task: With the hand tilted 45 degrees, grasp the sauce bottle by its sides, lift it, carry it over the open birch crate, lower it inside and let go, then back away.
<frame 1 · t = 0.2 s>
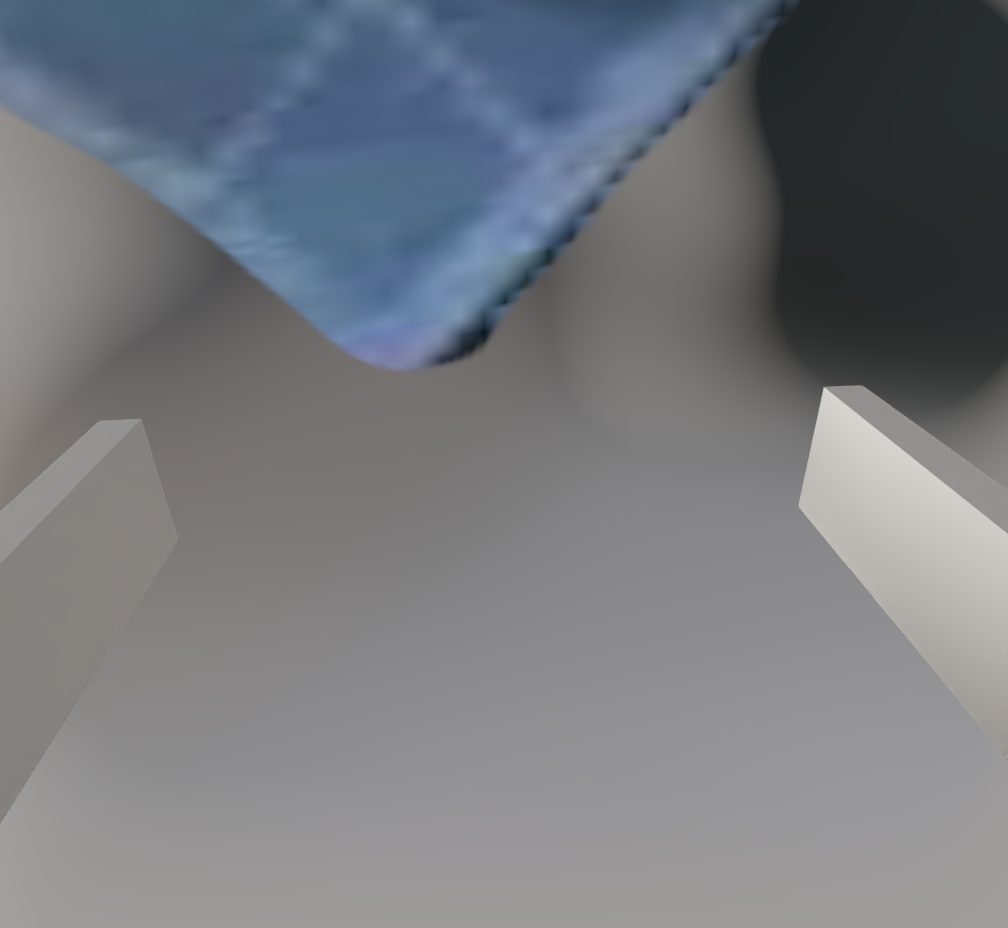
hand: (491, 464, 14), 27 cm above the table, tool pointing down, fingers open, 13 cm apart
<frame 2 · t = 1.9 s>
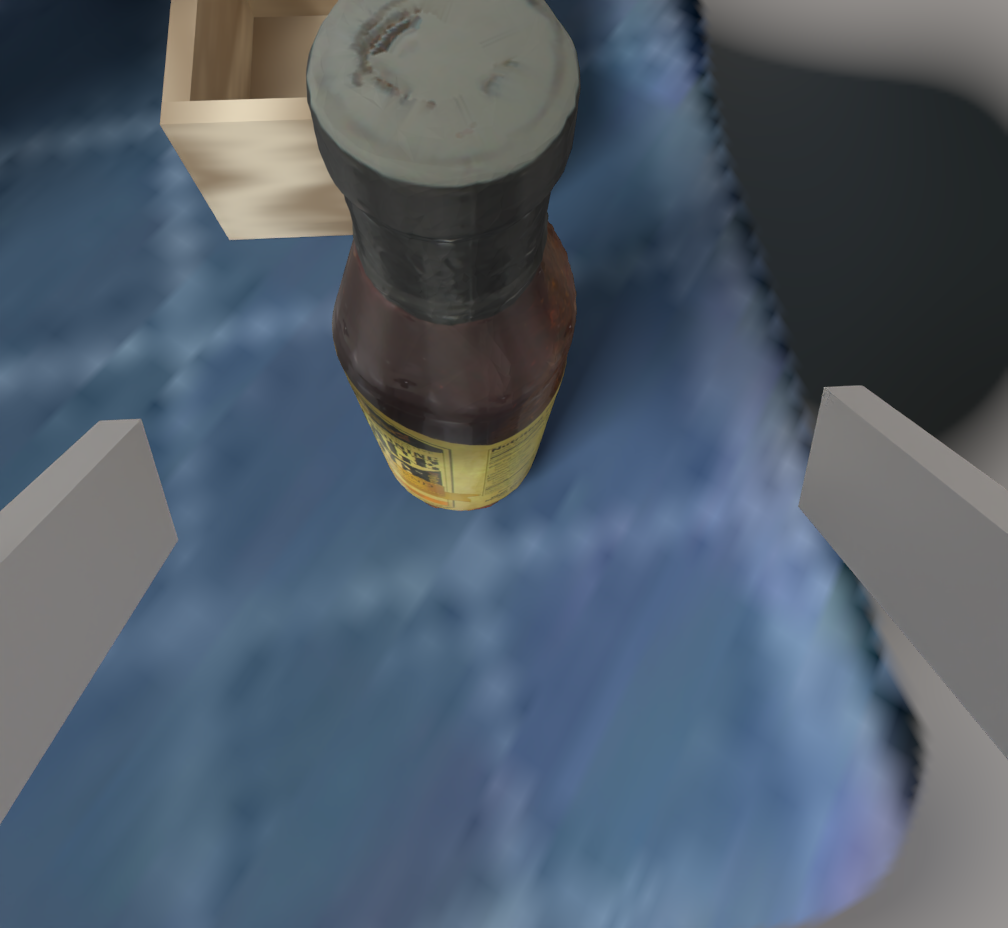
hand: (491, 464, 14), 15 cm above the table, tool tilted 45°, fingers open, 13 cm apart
sauce bottle: (464, 452, 29), on the table
crate: (369, 119, 33), on the table
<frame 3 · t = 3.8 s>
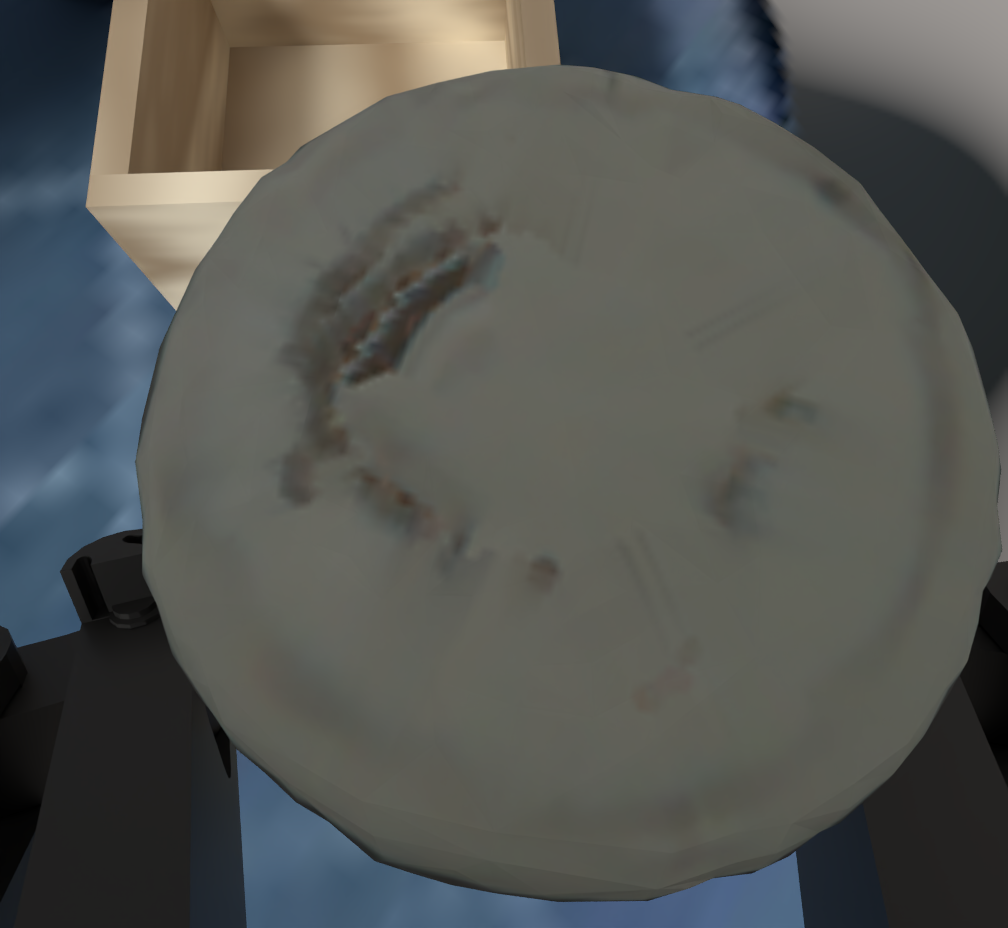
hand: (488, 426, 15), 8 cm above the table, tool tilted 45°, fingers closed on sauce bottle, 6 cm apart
sauce bottle: (493, 618, 22), on the table, touching gripper
crate: (373, 175, 27), on the table
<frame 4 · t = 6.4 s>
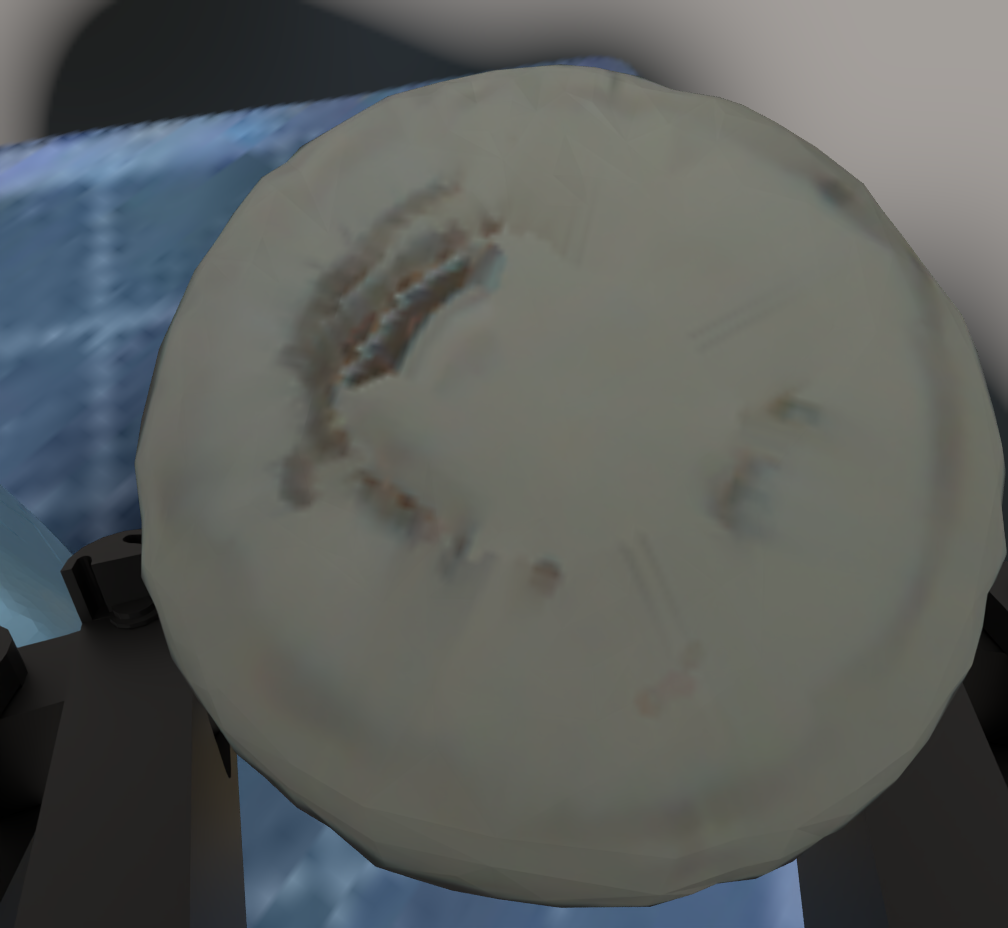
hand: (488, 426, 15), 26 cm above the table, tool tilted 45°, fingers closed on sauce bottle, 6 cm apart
sauce bottle: (493, 618, 22), point 17 cm above the table, touching gripper
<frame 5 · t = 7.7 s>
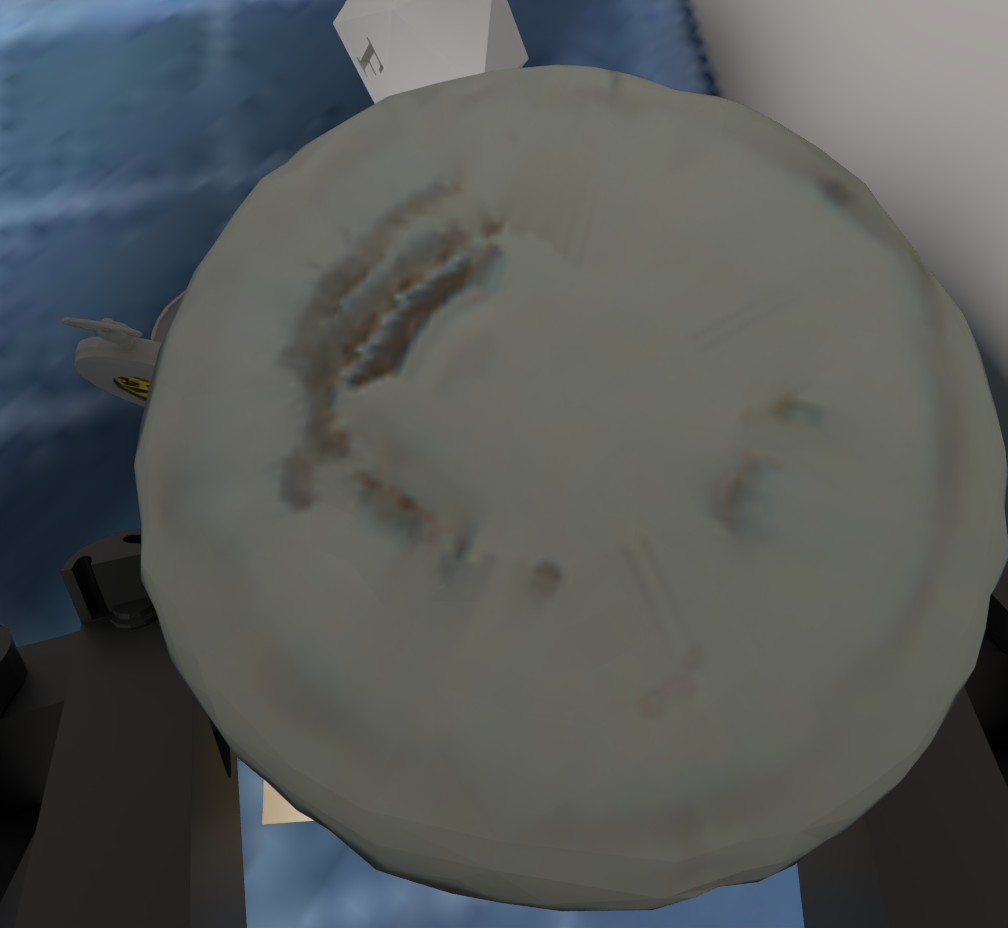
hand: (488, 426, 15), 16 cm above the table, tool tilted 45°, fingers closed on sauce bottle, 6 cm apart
die: (438, 105, 37), on the table
pocket watch: (221, 373, 33), on the table
sauce bottle: (493, 619, 22), point 7 cm above the table, touching gripper
crate: (469, 611, 30), on the table
when the fingers open (10 cm above the table, at t = 9.0 s): sauce bottle stays where it is, resting on crate.
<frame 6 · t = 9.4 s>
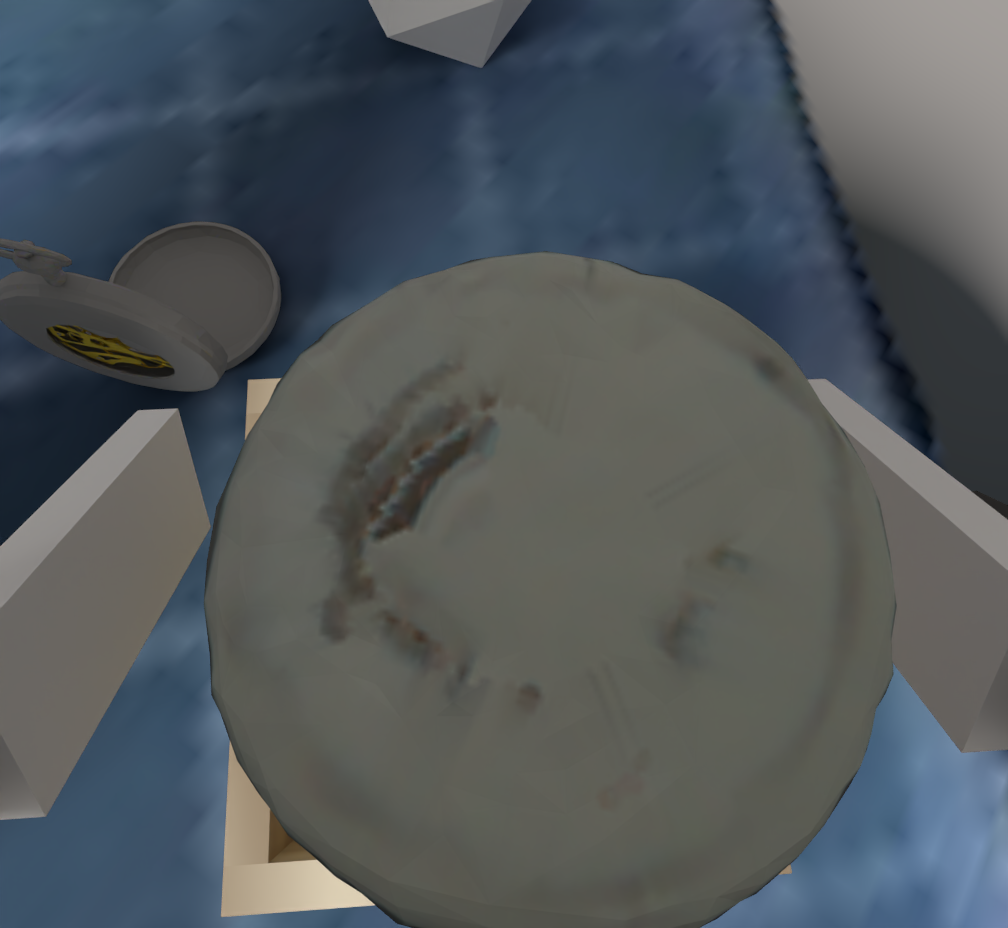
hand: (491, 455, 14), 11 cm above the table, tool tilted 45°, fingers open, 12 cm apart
die: (450, 28, 32), on the table
pocket watch: (191, 335, 27), on the table
sauce bottle: (488, 622, 23), point 1 cm above the table, touching crate
crate: (492, 621, 24), on the table
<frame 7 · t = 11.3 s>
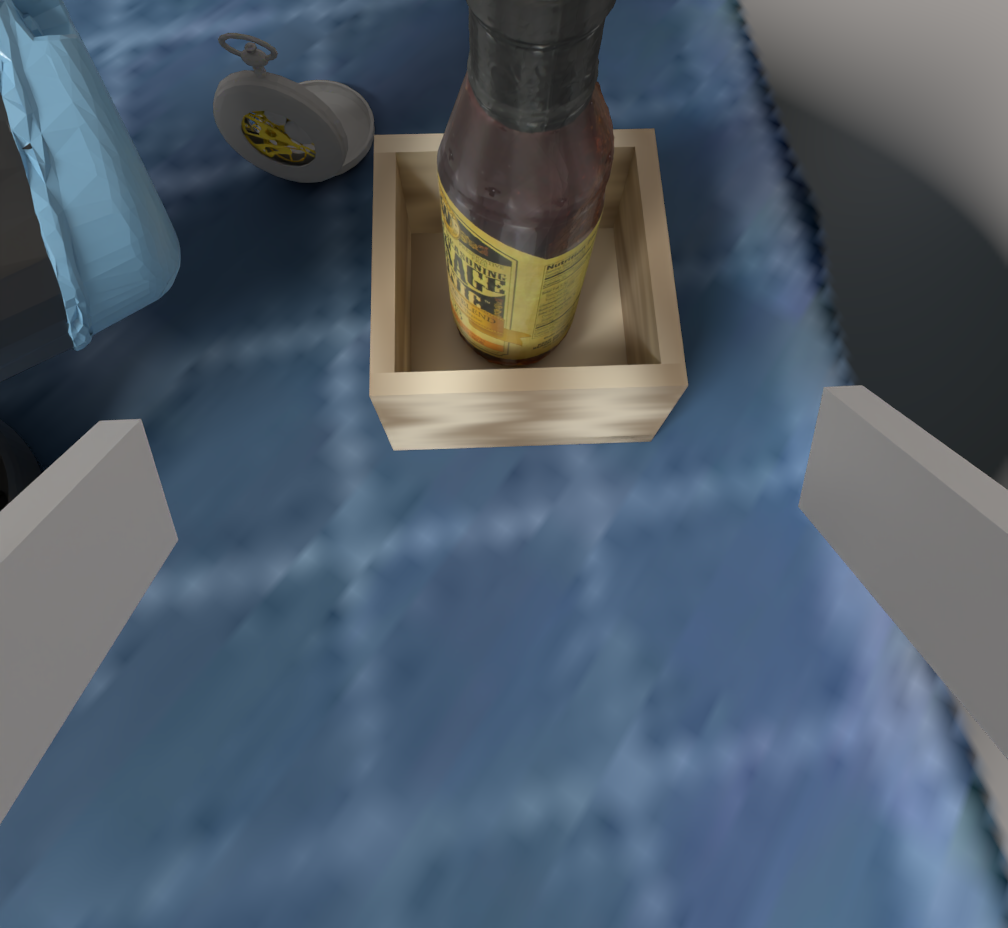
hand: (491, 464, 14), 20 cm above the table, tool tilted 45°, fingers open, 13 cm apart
pocket watch: (312, 156, 40), on the table
sauce bottle: (514, 324, 36), point 1 cm above the table, touching crate
crate: (516, 330, 36), on the table
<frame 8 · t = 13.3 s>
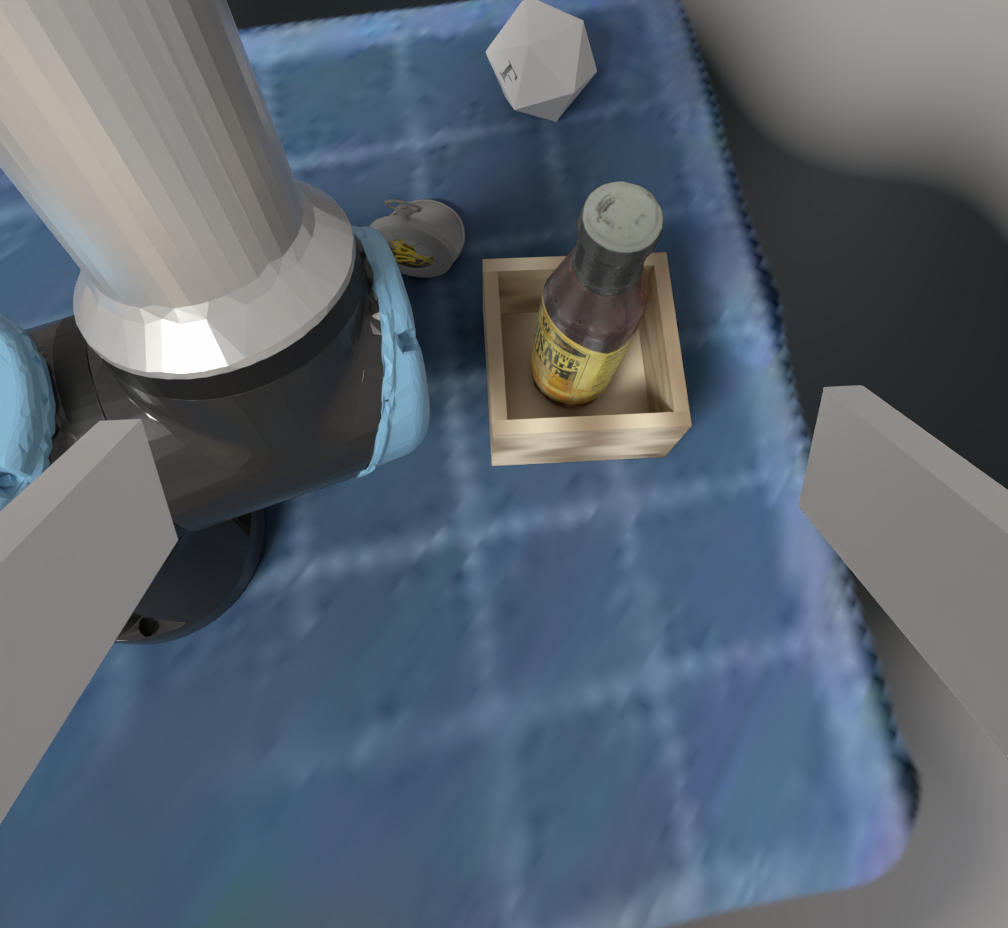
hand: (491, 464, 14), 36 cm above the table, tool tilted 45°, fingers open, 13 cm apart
die: (538, 100, 61), on the table
pocket watch: (420, 254, 56), on the table
sauce bottle: (570, 377, 52), point 1 cm above the table, touching crate
crate: (571, 381, 53), on the table
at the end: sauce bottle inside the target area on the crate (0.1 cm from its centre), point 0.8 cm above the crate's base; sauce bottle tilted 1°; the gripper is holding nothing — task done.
